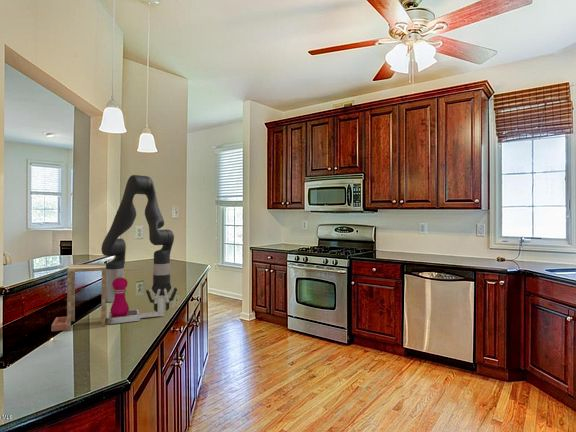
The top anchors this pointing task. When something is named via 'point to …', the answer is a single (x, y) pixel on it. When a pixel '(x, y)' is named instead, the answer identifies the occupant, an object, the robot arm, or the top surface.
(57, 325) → the pit tray
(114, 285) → the pepper mill
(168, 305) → the robot arm
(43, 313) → the top surface
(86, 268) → the shelf tunnel
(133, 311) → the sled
